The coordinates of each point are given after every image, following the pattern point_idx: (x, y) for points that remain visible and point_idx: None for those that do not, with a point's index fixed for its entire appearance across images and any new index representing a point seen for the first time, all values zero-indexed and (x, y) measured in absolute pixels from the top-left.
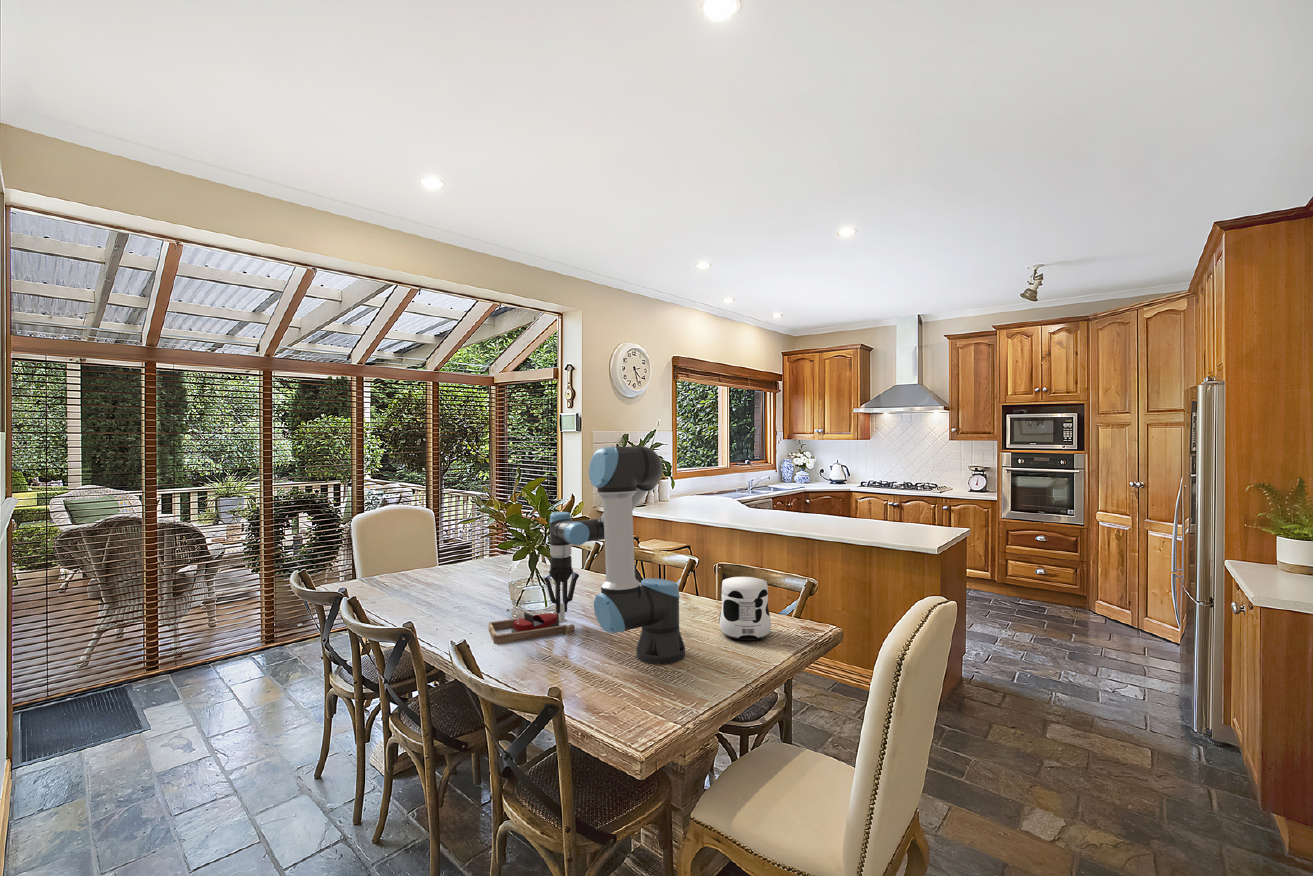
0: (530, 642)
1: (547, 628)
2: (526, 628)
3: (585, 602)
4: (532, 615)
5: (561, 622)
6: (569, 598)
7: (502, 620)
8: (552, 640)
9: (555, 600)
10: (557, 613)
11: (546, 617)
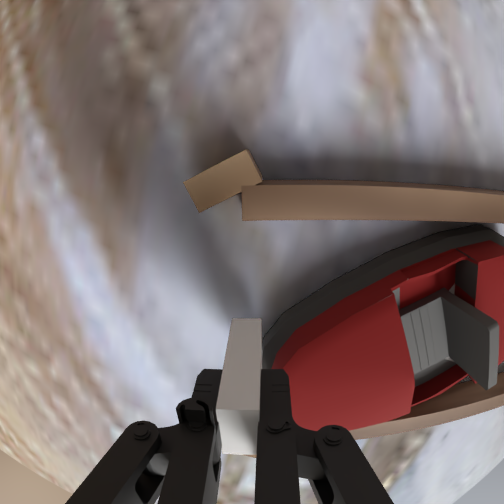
0: (476, 134)
1: (396, 197)
2: (499, 246)
3: None
4: (488, 327)
5: (255, 320)
6: (150, 443)
7: (499, 406)
8: (367, 94)
9: (309, 453)
10: None
11: (367, 351)
